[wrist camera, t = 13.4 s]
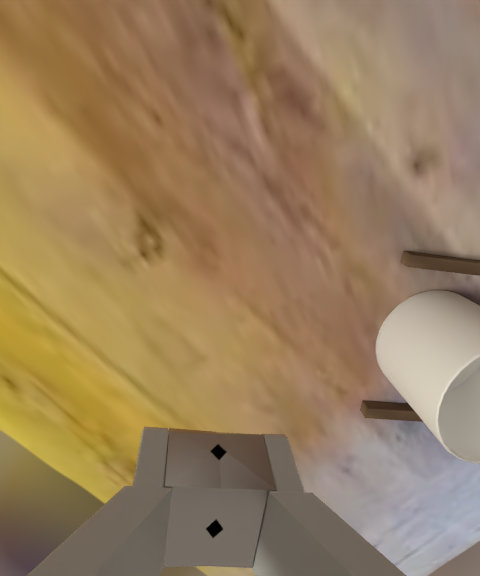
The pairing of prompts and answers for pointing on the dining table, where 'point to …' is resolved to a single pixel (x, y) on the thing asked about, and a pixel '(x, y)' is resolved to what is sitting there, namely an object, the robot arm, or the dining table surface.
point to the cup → (437, 365)
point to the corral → (424, 262)
